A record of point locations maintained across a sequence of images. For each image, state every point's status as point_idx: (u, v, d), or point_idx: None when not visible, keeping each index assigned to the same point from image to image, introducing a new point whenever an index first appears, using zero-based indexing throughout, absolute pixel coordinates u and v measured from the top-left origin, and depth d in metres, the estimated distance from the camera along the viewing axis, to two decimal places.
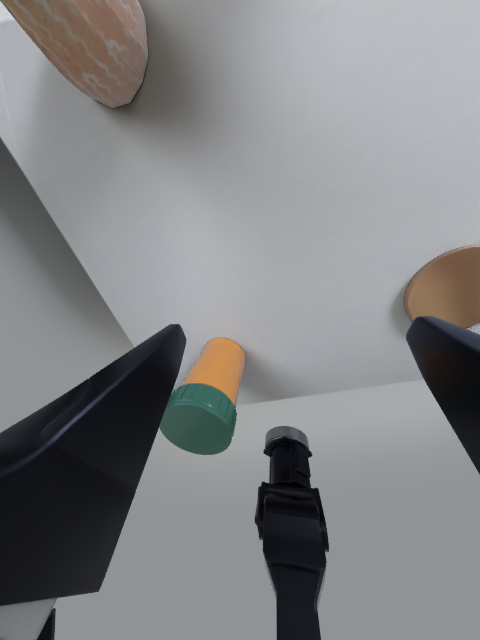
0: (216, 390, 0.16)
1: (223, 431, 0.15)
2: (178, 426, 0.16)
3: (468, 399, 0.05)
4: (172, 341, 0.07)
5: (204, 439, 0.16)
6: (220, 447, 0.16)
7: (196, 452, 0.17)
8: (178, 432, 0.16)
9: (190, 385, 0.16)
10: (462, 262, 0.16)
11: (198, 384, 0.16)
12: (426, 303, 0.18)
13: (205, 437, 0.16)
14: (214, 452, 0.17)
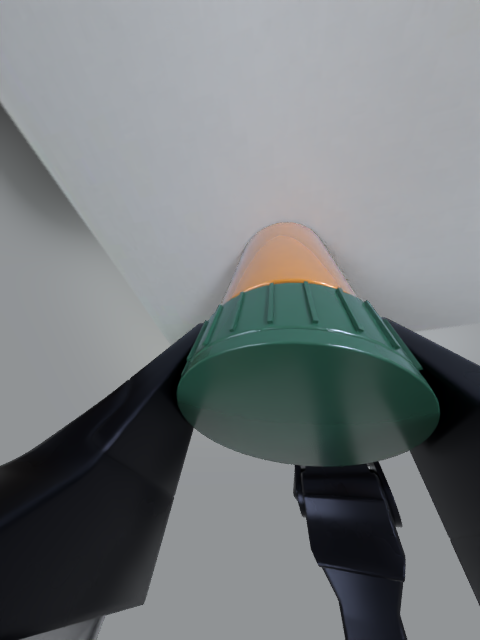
0: None
1: (205, 384, 0.04)
2: (302, 446, 0.06)
3: None
4: None
5: (300, 404, 0.04)
6: (297, 360, 0.03)
7: (422, 403, 0.04)
8: (330, 445, 0.05)
9: None
10: None
11: None
12: None
13: (286, 405, 0.04)
14: (360, 362, 0.03)
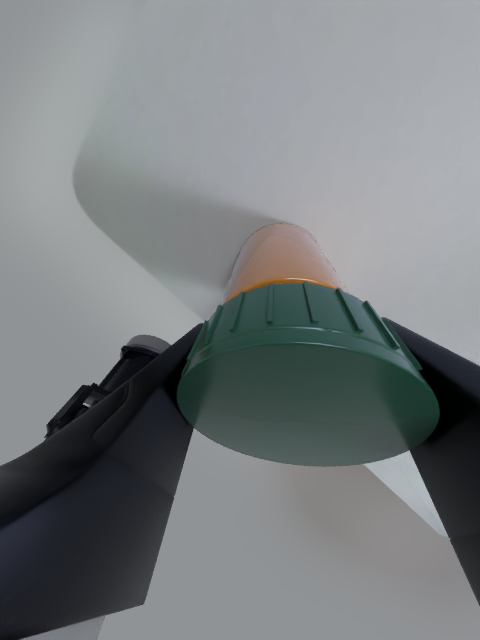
0: None
1: (205, 384, 0.04)
2: (302, 446, 0.06)
3: None
4: None
5: (300, 404, 0.04)
6: (297, 361, 0.03)
7: (421, 402, 0.04)
8: (330, 444, 0.05)
9: None
10: None
11: None
12: None
13: (286, 405, 0.04)
14: (360, 362, 0.03)
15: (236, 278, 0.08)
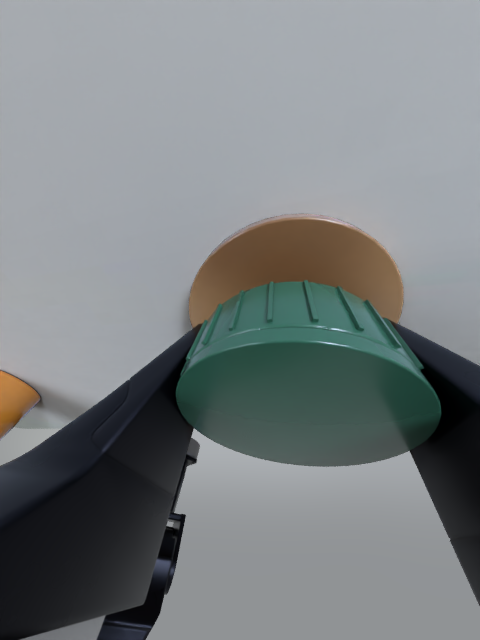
0: None
1: (205, 383, 0.04)
2: (302, 446, 0.06)
3: None
4: None
5: (300, 403, 0.04)
6: (297, 359, 0.03)
7: (423, 402, 0.04)
8: (330, 444, 0.05)
9: None
10: (270, 261, 0.06)
11: None
12: None
13: (286, 405, 0.04)
14: (361, 361, 0.03)
15: None
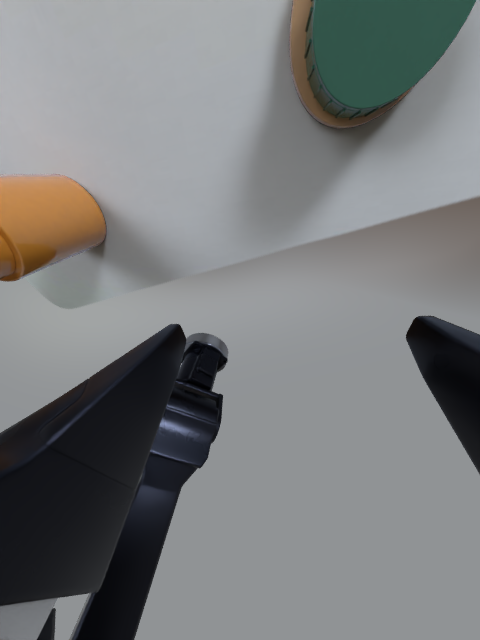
0: (306, 53, 0.10)
1: None
2: (396, 42, 0.08)
3: (468, 399, 0.05)
4: (172, 341, 0.07)
5: None
6: None
7: None
8: (419, 22, 0.08)
9: (322, 103, 0.11)
10: None
11: (314, 93, 0.11)
12: None
13: None
14: None
15: None
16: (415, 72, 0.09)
